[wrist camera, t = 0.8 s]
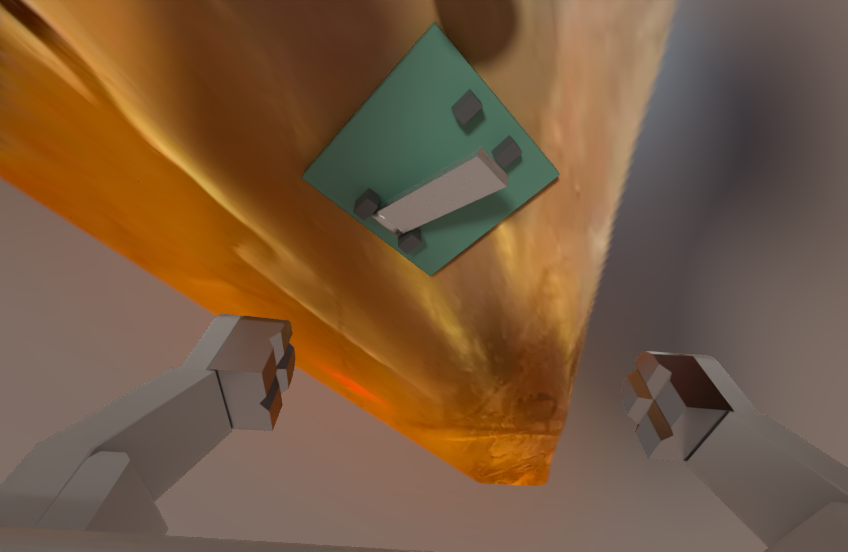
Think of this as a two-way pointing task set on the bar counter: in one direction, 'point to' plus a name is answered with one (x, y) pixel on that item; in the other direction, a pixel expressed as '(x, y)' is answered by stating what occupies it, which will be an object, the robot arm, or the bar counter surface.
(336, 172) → the board
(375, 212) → the steel strap
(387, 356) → the bar counter surface
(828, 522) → the robot arm
